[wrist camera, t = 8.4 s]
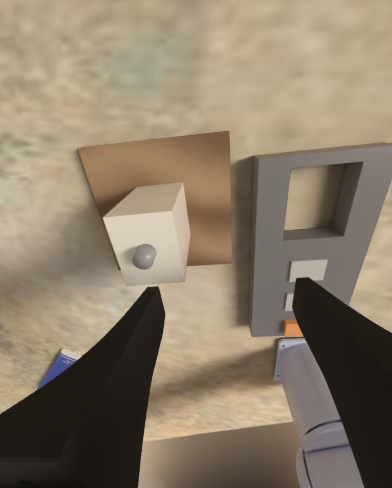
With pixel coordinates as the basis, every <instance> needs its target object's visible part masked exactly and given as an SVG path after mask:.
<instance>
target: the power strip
mask: <svg viewBox="0 0 392 488" xmlns="http://www.w3.org/2000/svg"><path fill="white" fill-rule="evenodd" d="M341 163H346V167H345V171H344V175H343V180H342V184H341V188H340V193H339V197H338V201H337V206H336V210H335V214H334V219H333V223H332V227H325V228H312V229H298V230H285V231H284V225H285V216H286V207H287V199H288V190H289V181H290V172H291V168H300V167H310V166H320V165H331V164H341ZM391 180H392V143H383V142H382V143H372V144H363V145H353V146H343V147H333V148H324V149H314V150H304V151H294V152H285V153H275V154H265V155H255V156H253V184H252V218H251V252H250V286H249V320H248V324H249V328H250V332H251V337H261V336H303V334H302V332H301V330H300V328H299V326H298V323H297V321H296V318H295V315H294V312H293V309H292V302H293V295H294V289H295V282H296V278H302V277H309V278H311V279H312V280H313V281H315V282H316V283H317V284H319V285H320V286H322V287H323V288H324V289H326V290H327V291H328V292H330V293H331V294H332V295H334V296H335V297H337V298H338V299H339V300H341V301H342V302H344V303H345V304H346V305H349V303H350V300H351V297H352V294H353V291H354V288H355V285H356V282H357V279H358V276H359V273H360V270H361V267H362V265H363V262H364V259H365V256H366V253H367V250H368V247H369V244H370V241H371V238H372V235H373V232H374V230H375V227H376V224H377V221H378V218H379V215H380V212H381V209H382V206H383V203H384V200H385V197H386V194H387V192H388V189H389V186H390V183H391Z"/></svg>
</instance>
